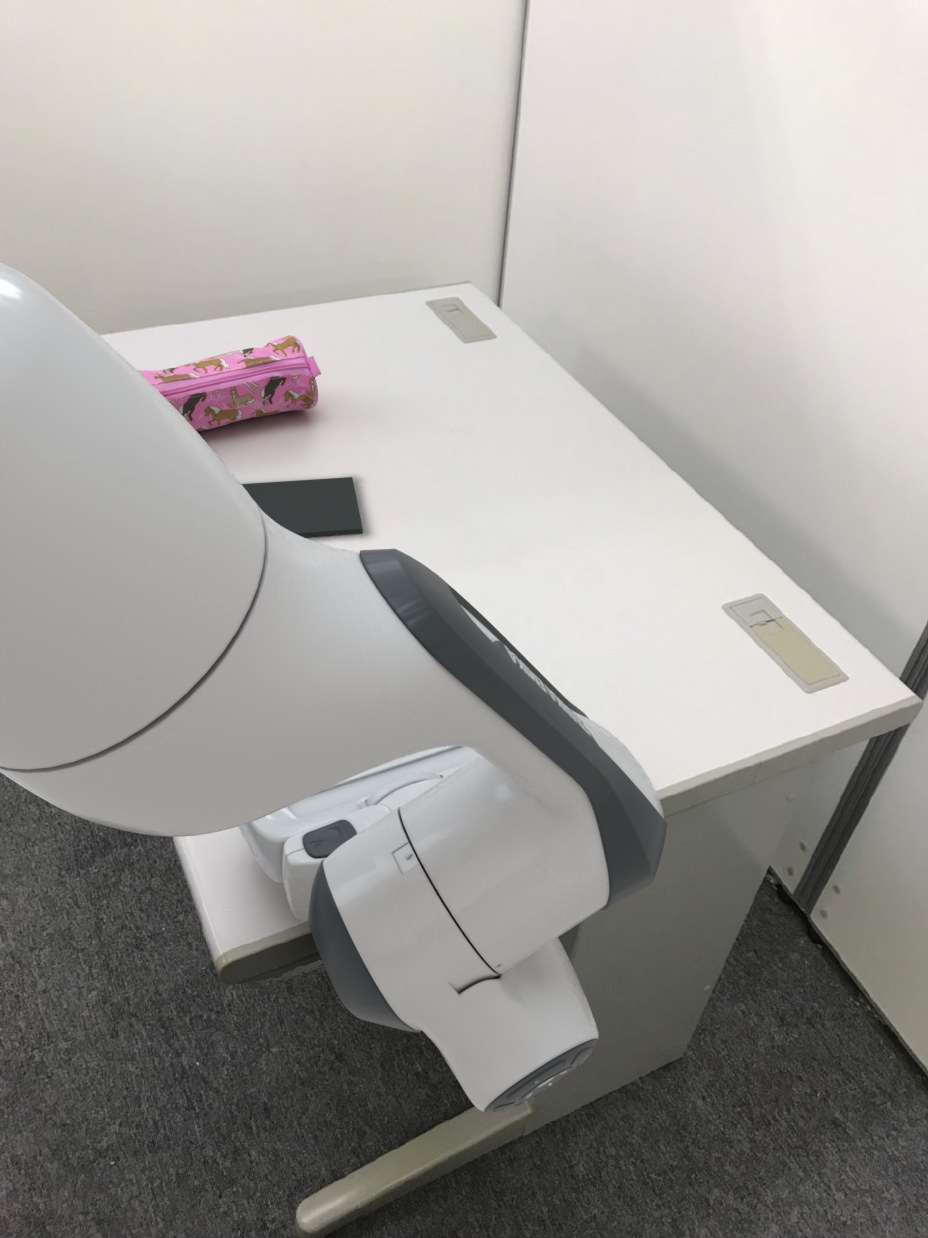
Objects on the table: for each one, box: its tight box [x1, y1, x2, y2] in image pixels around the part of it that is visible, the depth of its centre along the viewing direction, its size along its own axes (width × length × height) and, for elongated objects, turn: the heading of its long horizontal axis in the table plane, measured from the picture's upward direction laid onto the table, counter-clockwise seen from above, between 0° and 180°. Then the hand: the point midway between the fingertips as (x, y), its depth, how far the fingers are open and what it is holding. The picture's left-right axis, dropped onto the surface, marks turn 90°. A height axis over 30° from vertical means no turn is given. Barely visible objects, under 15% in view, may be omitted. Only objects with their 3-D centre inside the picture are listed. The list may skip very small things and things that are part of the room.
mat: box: [241, 476, 364, 538], centre depth 97 cm, size 16×9×1 cm, turn 101°
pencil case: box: [136, 335, 322, 432], centre depth 105 cm, size 21×9×9 cm, turn 121°
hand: (346, 695), depth 70 cm, fingers open, 8 cm apart
